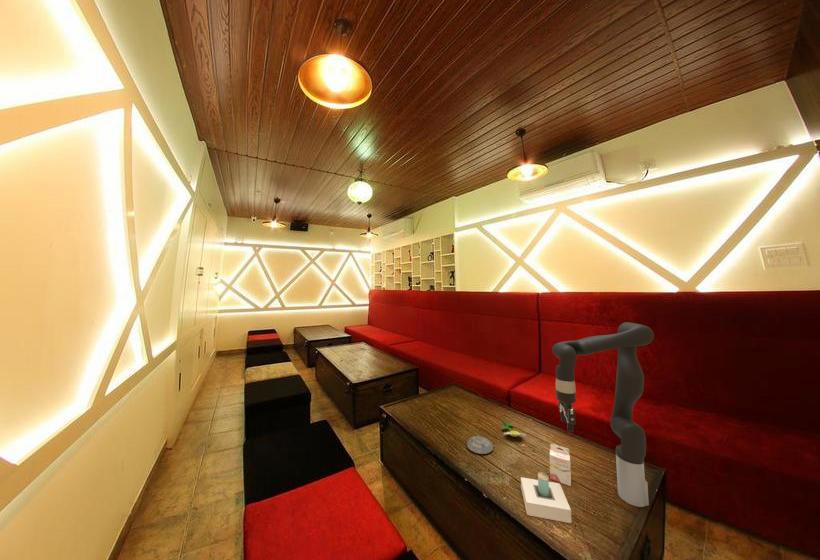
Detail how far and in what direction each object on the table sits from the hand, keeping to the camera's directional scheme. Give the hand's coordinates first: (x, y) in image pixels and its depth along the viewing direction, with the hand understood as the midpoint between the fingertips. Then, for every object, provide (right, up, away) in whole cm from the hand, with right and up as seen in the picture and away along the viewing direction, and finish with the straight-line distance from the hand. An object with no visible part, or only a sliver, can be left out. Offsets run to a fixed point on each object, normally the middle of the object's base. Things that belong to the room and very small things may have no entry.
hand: (567, 426), depth 112 cm
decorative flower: (-6, -33, +51) cm, 61 cm away
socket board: (-13, -30, -5) cm, 33 cm away
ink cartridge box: (+2, -31, +9) cm, 32 cm away
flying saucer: (-29, -33, +35) cm, 56 cm away
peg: (-13, -30, -5) cm, 33 cm away
